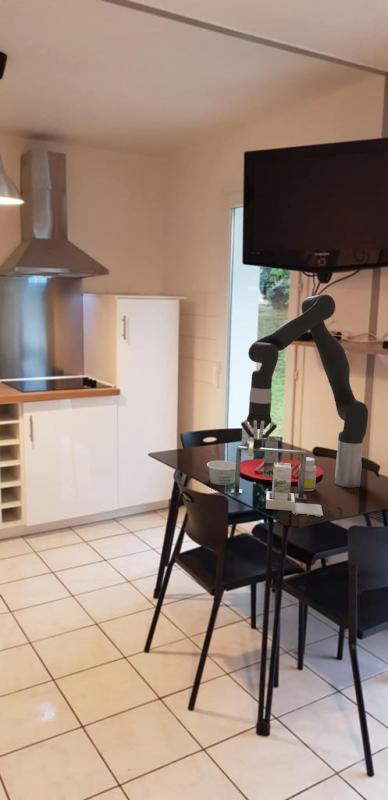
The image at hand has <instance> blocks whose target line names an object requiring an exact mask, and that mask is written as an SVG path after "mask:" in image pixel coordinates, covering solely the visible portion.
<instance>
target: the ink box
mask: <svg viewBox="0 0 388 800" xmlns="http://www.w3.org/2000/svg"><path fill="white" fill-rule="evenodd" d="M245 420H246V419H245ZM245 420H242V421H245ZM241 427H242V426H241ZM248 428H249V429H250V431H251V432H252V433H254V429H253V428H252V427H251V425H250V424H249V422H248ZM258 431H259V429H257V436H258V437H259V433H258ZM248 441H251V442H254V438H252V437H249V435H248V434H247V433H246V431H245V430H244V428H243V427H242V428H241V445H242V446H243V447H247V442H248Z"/></svg>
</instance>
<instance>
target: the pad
mask: <svg viewBox="0 0 388 800" xmlns="http://www.w3.org/2000/svg"><path fill="white" fill-rule="evenodd" d="M292 513H293V514H292ZM295 513H296V514H295ZM323 513H324V512H323V509H322V505H321V504H317V503H316V504H315V503H313V504H312V503H301V502H295V506H294V509H292V511H291V514H292V515H298V514H307V515H306V516H309V515H315V516H314V517H321V516H323V517H324V514H323Z"/></svg>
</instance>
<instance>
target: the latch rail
mask: <svg viewBox="0 0 388 800" xmlns="http://www.w3.org/2000/svg"><path fill="white" fill-rule="evenodd" d="M243 450H244V451H248V450H249V448H247V447H246V446H244V445H242V446H241V445H238V446H237V448H236V452H235V455H236V456H235V463H236V469H235V478H234V487H233V488H231V489H230V490H231V491H230V494H232V495H233V494H235V495H242V494H243V490H244V489H242V488H241V489H240V483H241V482H240V481H241V464H242V452H243ZM254 451H255V452H258V451H259V452H265V451H266V452H280V453H283V454H297V455H300V465H301V466H300V465H299V466H300V479H299V488H298V493H294V499H295V500H304V501H305V500H306V501H307V499H308V498H307V494H304V492H305V491H304V481H305V468H306V457H307V452H306V450H296V449H295V450H294V449H283V448H282V449H270V448H265V447H261V448H259V450H256V449H255V448H253V452H254Z"/></svg>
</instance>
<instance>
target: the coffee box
mask: <svg viewBox="0 0 388 800" xmlns="http://www.w3.org/2000/svg"><path fill="white" fill-rule="evenodd" d="M264 444H265V446H264V448H270V449H283V436H275V435H273V436H271V435H269V436H268V437H267V438H265V443H264ZM274 462H275V463H282V453H280V452H266V451H264V457H263V473H262V478H263V477H273V468H274Z"/></svg>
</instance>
